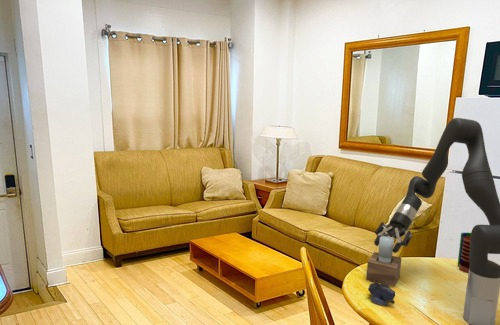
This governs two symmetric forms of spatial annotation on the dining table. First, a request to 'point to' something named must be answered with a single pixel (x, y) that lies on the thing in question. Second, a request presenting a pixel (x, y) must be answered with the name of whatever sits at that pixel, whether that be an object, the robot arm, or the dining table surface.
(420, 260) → the dining table surface
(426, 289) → the dining table surface
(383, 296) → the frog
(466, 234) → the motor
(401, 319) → the dining table surface
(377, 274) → the housing
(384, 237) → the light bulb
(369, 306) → the dining table surface
